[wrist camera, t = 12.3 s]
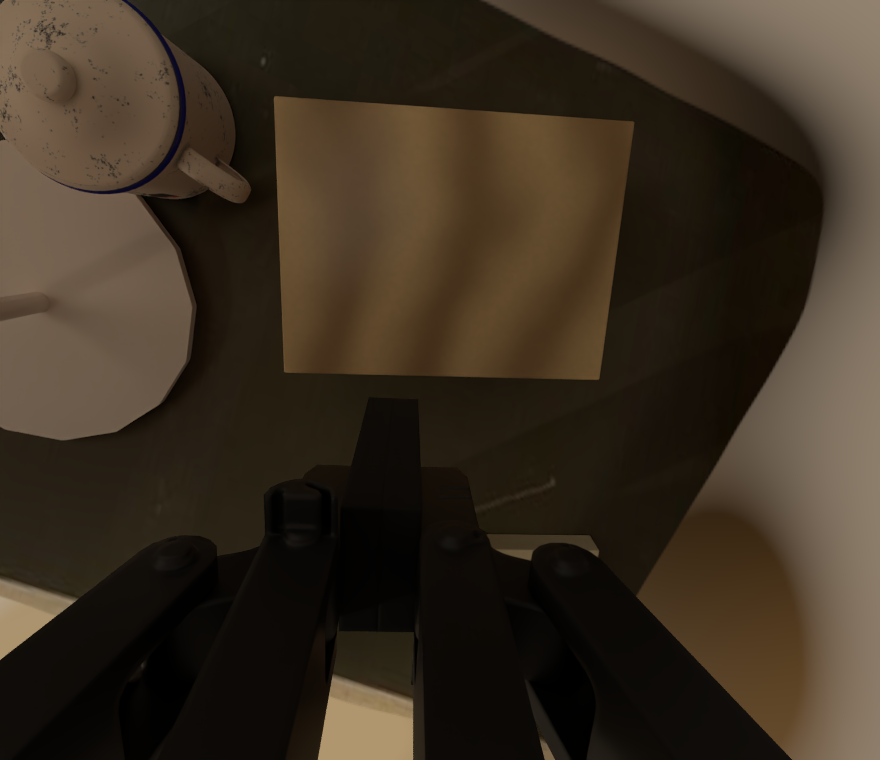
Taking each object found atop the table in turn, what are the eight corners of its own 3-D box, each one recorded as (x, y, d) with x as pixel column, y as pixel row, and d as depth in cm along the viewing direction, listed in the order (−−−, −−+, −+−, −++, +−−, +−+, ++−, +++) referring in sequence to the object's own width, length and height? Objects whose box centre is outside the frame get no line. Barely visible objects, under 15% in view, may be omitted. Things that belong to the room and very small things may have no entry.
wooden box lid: (287, 368, 27) (283, 372, 26) (277, 100, 23) (273, 95, 22) (594, 376, 28) (599, 380, 27) (628, 124, 25) (635, 121, 24)
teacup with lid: (67, 142, 32) (-115, 95, 21) (136, 10, 31) (-22, -117, 19) (234, 258, 35) (150, 271, 24) (307, 142, 33) (254, 97, 22)
